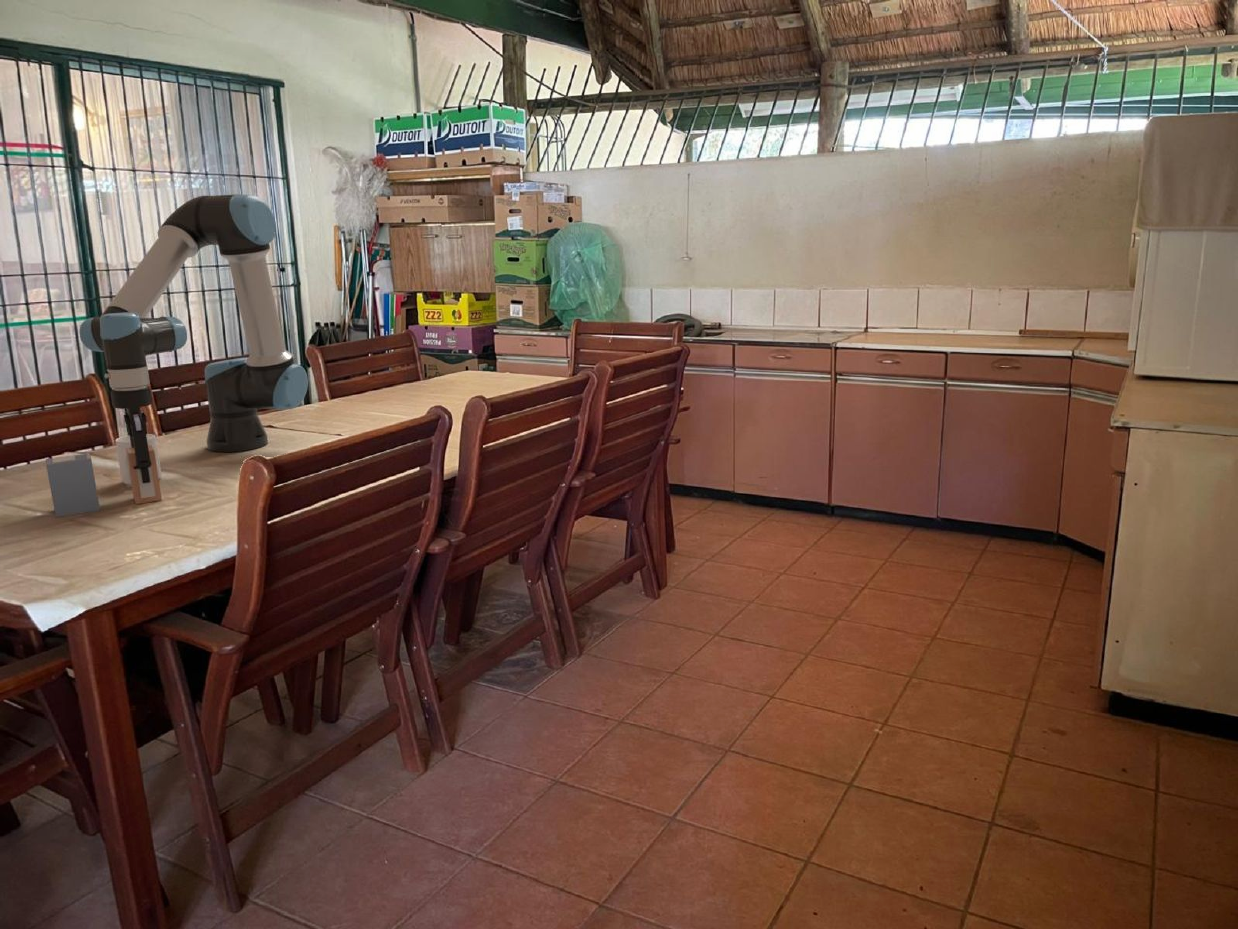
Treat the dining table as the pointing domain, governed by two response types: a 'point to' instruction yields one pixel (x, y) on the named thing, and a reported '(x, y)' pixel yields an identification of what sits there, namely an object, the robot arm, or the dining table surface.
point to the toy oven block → (72, 484)
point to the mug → (122, 456)
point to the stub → (134, 476)
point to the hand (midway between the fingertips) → (146, 492)
